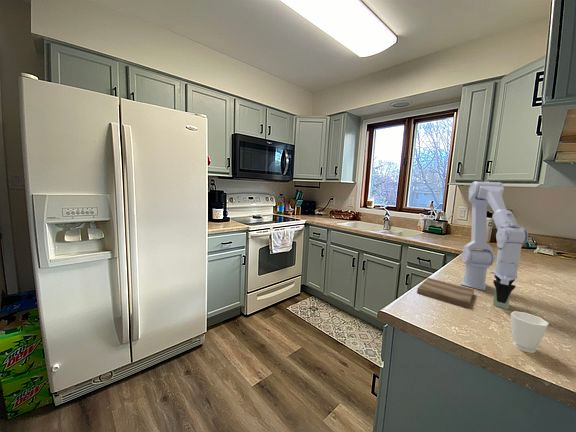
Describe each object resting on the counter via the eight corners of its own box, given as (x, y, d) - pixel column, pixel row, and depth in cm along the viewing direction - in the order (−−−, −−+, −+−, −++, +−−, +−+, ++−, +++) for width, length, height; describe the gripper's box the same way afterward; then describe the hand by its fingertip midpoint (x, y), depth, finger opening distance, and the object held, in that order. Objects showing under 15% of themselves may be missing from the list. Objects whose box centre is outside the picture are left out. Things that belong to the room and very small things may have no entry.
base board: (427, 282, 105) (427, 277, 105) (473, 294, 94) (474, 289, 94) (417, 292, 93) (417, 287, 93) (468, 308, 82) (469, 302, 82)
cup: (507, 348, 62) (512, 318, 61) (502, 330, 70) (507, 304, 69) (547, 361, 57) (553, 329, 56) (537, 340, 66) (542, 312, 65)
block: (493, 301, 89) (495, 286, 88) (507, 305, 86) (510, 289, 85) (492, 305, 86) (495, 289, 85) (507, 309, 83) (510, 292, 82)
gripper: (493, 255, 92) (488, 289, 94) (491, 262, 81) (485, 301, 83) (518, 259, 87) (512, 295, 89) (520, 268, 77) (513, 308, 78)
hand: (501, 298), depth 86 cm, fingers open, 7 cm apart
